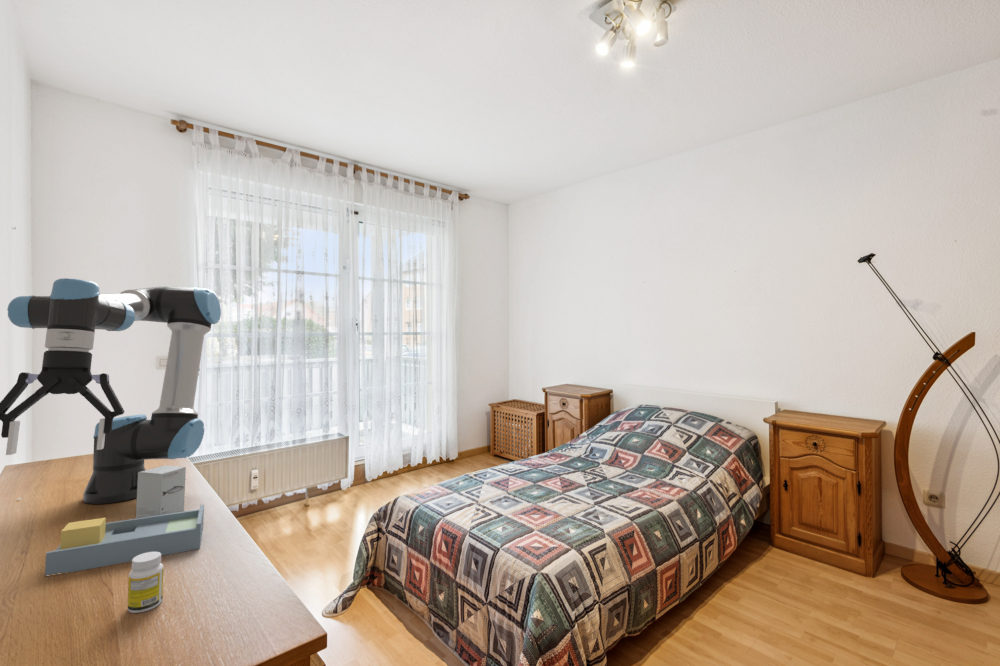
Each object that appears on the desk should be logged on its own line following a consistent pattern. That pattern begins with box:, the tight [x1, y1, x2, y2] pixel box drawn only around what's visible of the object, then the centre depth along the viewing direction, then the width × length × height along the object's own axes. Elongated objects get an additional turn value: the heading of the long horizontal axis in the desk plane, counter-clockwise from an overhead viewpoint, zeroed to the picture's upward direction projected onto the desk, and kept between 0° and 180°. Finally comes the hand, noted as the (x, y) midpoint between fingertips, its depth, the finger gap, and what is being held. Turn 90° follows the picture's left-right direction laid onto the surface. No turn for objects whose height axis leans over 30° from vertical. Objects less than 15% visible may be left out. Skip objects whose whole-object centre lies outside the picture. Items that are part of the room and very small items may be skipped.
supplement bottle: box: [127, 552, 164, 614], centre depth 77 cm, size 5×5×8 cm
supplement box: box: [135, 465, 187, 519], centre depth 116 cm, size 7×7×13 cm
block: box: [59, 517, 107, 550], centre depth 94 cm, size 5×6×4 cm
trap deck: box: [44, 504, 205, 577], centre depth 98 cm, size 14×25×6 cm, turn 121°
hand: (57, 451), depth 93 cm, fingers open, 13 cm apart
